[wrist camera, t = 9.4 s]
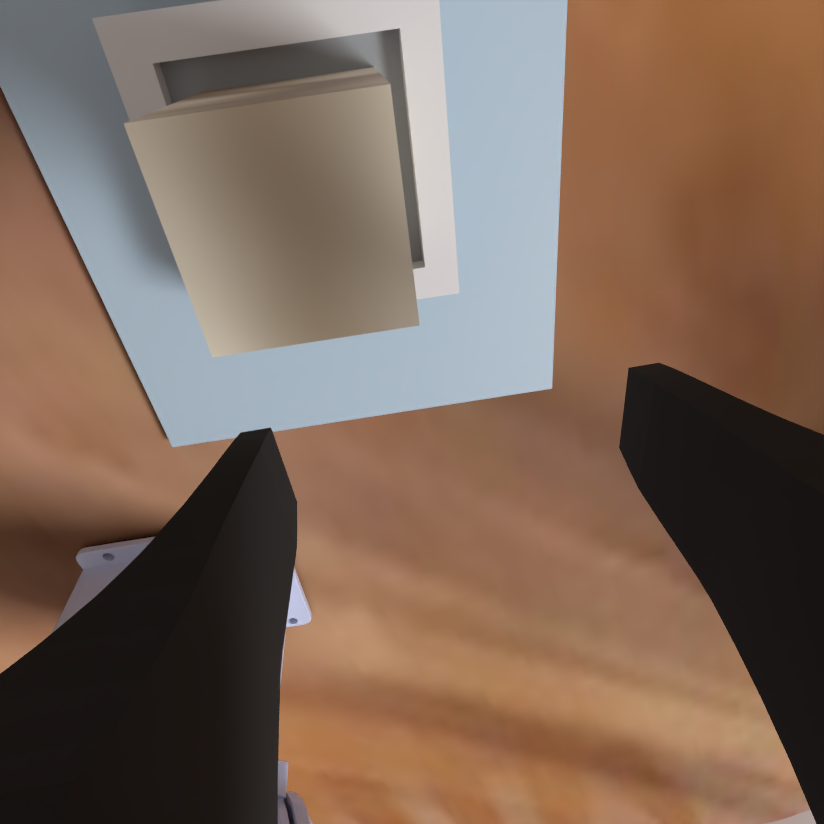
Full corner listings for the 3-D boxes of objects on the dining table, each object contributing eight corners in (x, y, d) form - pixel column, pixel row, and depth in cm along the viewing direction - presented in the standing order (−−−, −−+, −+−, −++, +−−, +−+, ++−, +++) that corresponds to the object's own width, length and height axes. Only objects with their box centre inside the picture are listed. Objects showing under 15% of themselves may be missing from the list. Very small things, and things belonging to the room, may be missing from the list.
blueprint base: (174, 441, 23) (154, 490, 20) (-176, -304, 11) (-319, -397, 9) (548, 383, 23) (573, 424, 21) (576, -401, 12) (638, -516, 9)
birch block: (251, 261, 17) (212, 357, 12) (200, 92, 14) (123, 123, 9) (397, 239, 17) (419, 325, 12) (374, 66, 14) (389, 84, 9)
